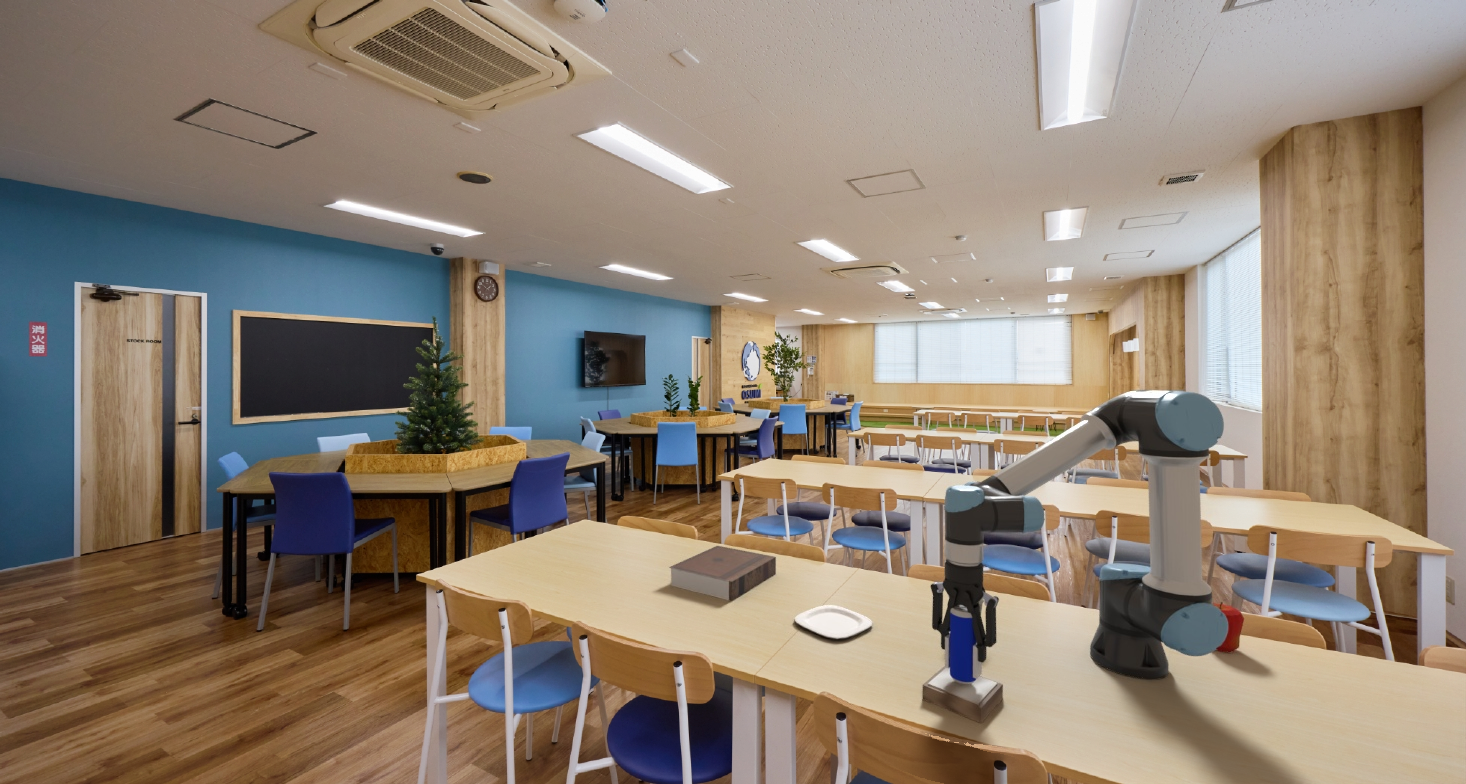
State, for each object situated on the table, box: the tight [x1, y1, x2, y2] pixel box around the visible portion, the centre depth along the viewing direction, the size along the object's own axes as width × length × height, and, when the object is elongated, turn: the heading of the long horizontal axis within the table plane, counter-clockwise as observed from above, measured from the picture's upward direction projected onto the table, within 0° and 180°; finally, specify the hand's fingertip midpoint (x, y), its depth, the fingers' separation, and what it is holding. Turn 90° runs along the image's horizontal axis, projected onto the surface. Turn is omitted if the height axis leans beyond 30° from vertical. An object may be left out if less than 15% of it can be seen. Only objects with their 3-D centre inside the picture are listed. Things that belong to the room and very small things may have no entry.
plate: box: [793, 604, 874, 640], centre depth 154 cm, size 18×18×2 cm
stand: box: [921, 665, 1004, 724], centre depth 118 cm, size 12×12×3 cm
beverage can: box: [949, 605, 977, 684], centre depth 118 cm, size 5×5×15 cm
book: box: [668, 545, 777, 602], centre depth 188 cm, size 24×28×6 cm
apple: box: [1212, 601, 1245, 653], centre depth 140 cm, size 9×8×12 cm
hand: (963, 670), depth 118 cm, fingers closed on beverage can, 5 cm apart
